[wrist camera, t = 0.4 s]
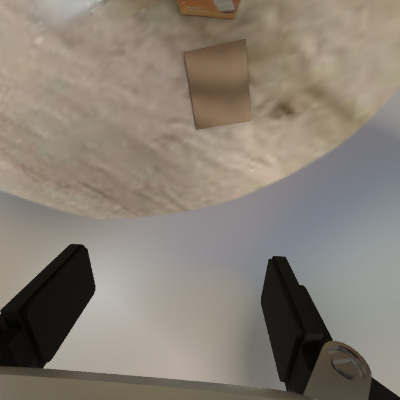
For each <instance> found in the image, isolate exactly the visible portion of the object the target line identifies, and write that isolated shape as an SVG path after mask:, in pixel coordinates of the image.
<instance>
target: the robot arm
mask: <svg viewBox="0 0 400 400" xmlns="http://www.w3.org/2000/svg"><path fill="white" fill-rule="evenodd" d="M94 292H95V282H94V277H93V273H92V268H91V263H90V259H89V254H88V250H87V248H85V246H84V245H81V244H70V245H69V246H68V247H67V248H66V249H65V250H64V251H63V252H61V253H60V254H59V255H58V257H56V258H55V259H54V260H53V261H52V262H51V263H50V264H49V265H48V266H47V267H46V268H45V269H44V270H42V271H41V272H40V273H39V274H38V275H37V276H36V277H35V278H34V279H33V280H32V281H31V282H30V283H29V284H28V285H27V286H26V287H24V288H23V289H22V290H21V291H20V292H19V293H18V294H17V295H16V296H15V297H14V298H13V299H12V300H11V301H10V302H9V303H8V304H6V306H5V307H3V308H2V309H1V310H0V311H1V314H0V400H400V397H398V396H397V395H396V394H394V393H393V392H392V391H390V390H389V389H387V388H386V387H385V386H383V385H382V384H380V383H379V382H378V381H376V380H375V379H373V378H372V376H371V370H370V368H369V365H368V364H367V362H366V361H365V359H364V358H363V357H362V356H361V355H360V354H359V353H358V352H357V351H356V350H354V349H353V348H352V347H350V346H348V345H346V344H344V343H341V342H338V341H333V339H332V337H331V336H330V334H329V332H328V330H327V328H326V326H325V324H324V322H323V320H322V318H321V317H320V314H319V312H318V310H317V309H316V307H315V305H314V303H313V301H312V299H311V297H310V295H309V293H308V291H307V289H306V288H305V287H304V286H303V285H299V283H298V281H297V279H296V277H295V275H294V273H293V271H292V269H291V267H290V265H289V263H288V261H287V259H286V257H281V256H273V258H272V259H269V260H268V265H267V270H266V276H265V280H264V286H263V291H262V296H261V306H262V310H263V314H264V318H265V322H266V326H267V330H268V334H269V338H270V342H271V346H272V351H273V354H274V359H275V362H276V367H277V371H278V375H279V379H280V381H281V382H285V386H286V390H287V391H281V390H275V389H269V388H259V387H250V386H241V385H232V384H221V383H210V382H199V381H187V380H177V379H166V378H153V377H141V376H130V375H118V374H106V373H93V372H81V371H67V370H55V369H43V367H44V366H45V364H46V363H47V362H49V361H51V359H52V358H53V356H54V355H55V354H56V352H57V350H58V349H59V347H60V346H61V344H62V343H63V341H64V339H65V338H66V336H67V335H68V333H69V332H70V330H71V329H72V327H73V325H74V324H75V322H76V321H77V319H78V318H79V316H80V315H81V313H82V312H83V310H84V309H85V307H86V305H87V304H88V302H89V301H90V299H91V298H92V296H93V295H94Z"/></svg>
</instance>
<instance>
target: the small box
mask: <svg viewBox="0 0 400 400" xmlns="http://www.w3.org/2000/svg"><path fill="white" fill-rule="evenodd" d="M177 2H178V6H179V9H180V13H181V14H182V15H197V16H207V17H216V18H227V19H235V18H236V15H237V11H238V7H239V3H240V0H177Z"/></svg>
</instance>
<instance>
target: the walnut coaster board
mask: <svg viewBox="0 0 400 400" xmlns="http://www.w3.org/2000/svg"><path fill="white" fill-rule="evenodd" d="M184 55H185V61H186V67H187V73H188V79H189V85H190V91H191V97H192V103H193V110H194V116H195V122H196V128H197V129H202V128H208V127H214V126H220V125H225V124H231V123H237V122H243V121H249V120H251V108H250V94H249V80H248V67H247V53H246V39H244V40H239V41H234V42H230V43H225V44H220V45H216V46H211V47H206V48H202V49H197V50H192V51H188V52H184Z"/></svg>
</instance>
